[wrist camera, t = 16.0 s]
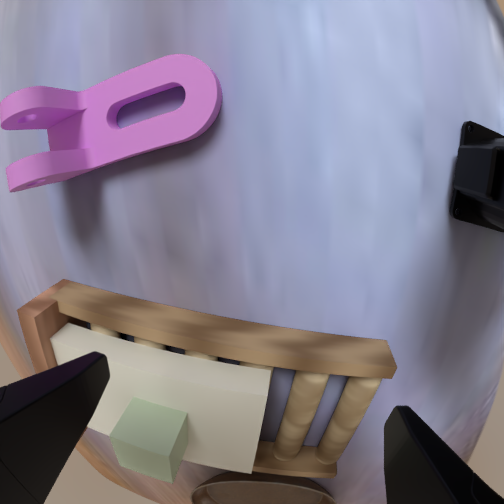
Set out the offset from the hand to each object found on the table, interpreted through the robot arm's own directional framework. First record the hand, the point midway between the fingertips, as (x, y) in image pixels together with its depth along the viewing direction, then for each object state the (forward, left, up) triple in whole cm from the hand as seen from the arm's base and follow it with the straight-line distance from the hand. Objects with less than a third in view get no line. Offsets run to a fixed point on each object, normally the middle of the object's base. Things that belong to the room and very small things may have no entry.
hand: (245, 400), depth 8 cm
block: (+6, +12, -7) cm, 15 cm away
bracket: (+11, -8, -12) cm, 18 cm away
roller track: (+3, +12, -12) cm, 17 cm away
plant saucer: (-4, +31, -12) cm, 33 cm away
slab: (+7, +12, -10) cm, 17 cm away
